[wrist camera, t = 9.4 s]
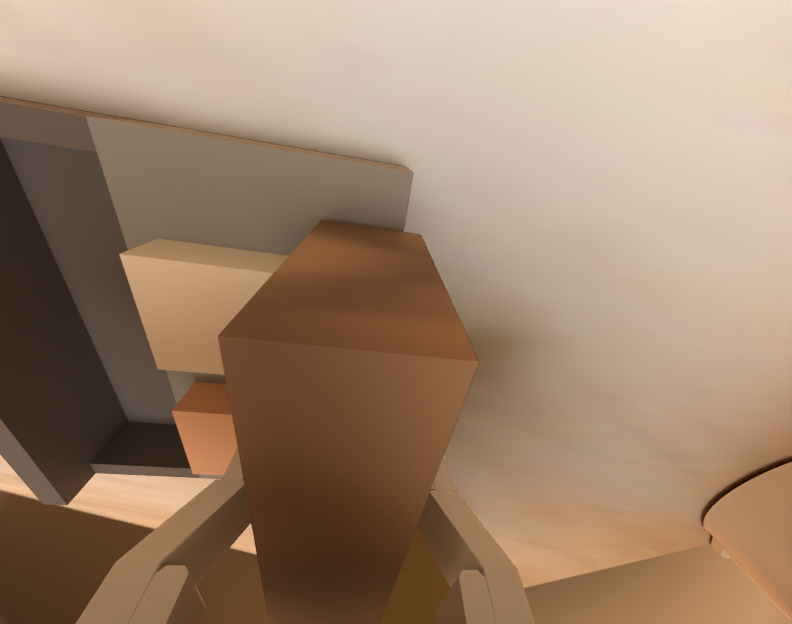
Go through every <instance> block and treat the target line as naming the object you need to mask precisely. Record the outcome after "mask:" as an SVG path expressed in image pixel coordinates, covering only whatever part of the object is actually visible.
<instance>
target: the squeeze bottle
mask: <svg viewBox="0 0 792 624" xmlns="http://www.w3.org/2000/svg"><path fill="white" fill-rule="evenodd" d="M450 589H451V588H450V586H449V584H448V582H447V580H446V578H445V577H444V575H443V573H442V571H441V569H440V567H439V565H438V564H437V562H436V560H435V558H434V556H433V554H432V552H431V550H430V549H429V547H428V545H427V543H426V541H425V539H424V537H423V536H422V534H421V532H420V530H419V528H418V526H417V527H416V530H415V533H414V535H413V538H412V540H411V543H410V546H409V548H408V551H407V554H406V556H405V559H404V562H403V564H402V567H401V570H400V572H399V575H398V577H397V580H396V583H395V585H394V588H393V591H392V593H391V596H390V599H389V601H388V604H387V607H386V609H385V612H384V614H383V617H382V620H381V622H380V624H438V619H437V609H438V608H439V606H440V604H441V603H442V601H443V600H444V598H445V597H446V595H447V593H448V592H449V590H450Z"/></svg>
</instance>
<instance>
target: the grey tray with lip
mask: <svg viewBox="0 0 792 624" xmlns="http://www.w3.org/2000/svg"><path fill="white" fill-rule="evenodd" d="M412 178H413V172H412V171H410V170H409V169H408V168H407V167H404V166H398V165H392V164H387V163H381V162H375V161H369V160H364V159H358V158H352V157H346V156H341V155H335V154H329V153H323V152H318V151H312V150H306V149H300V148H295V147H289V146H283V145H277V144H272V143H266V142H260V141H254V140H249V139H243V138H237V137H231V136H226V135H220V134H214V133H208V132H203V131H197V130H191V129H185V128H180V127H174V126H168V125H162V124H157V123H151V122H145V121H139V120H134V119H128V118H122V117H116V116H111V115H105V114H99V113H93V112H87V111H82V110H76V109H70V108H64V107H59V106H53V105H47V104H41V103H36V102H30V101H24V100H18V99H13V98H7V97H1V96H0V454H1V456H2V457H3V458H4V459H5V460H6V461H7V463H8V464H9V465H10V466H11V467H12V468H13V470H14V471H15V472H16V473H17V474H18V476H19V477H20V478H21V479H22V480H23V481H24V483H25V484H26V485H27V486H28V487H29V488H30V490H31V491H32V492H33V493H34V494H35V495H36V497H37V498H38V499H39V500H40V501H41V502H42V504H50V505H68V504H69V503H70V501H71V500H72V499H73V498H74V497H75V496H76V495H77V494H78V492H79V491H80V490H81V489H82V488H83V487H84V486H85V484H86V483H87V482H88V481H89V480H90V479H91V478H92V477H93V475H94V474H95V473H104V474H126V475H148V476H169V477H191V478H213V479H222V478H223V475H202V474H193V473H192V470H191V467H190V464H189V461H188V458H187V455H186V452H185V449H184V446H183V443H182V440H181V437H180V434H179V431H178V428H177V425H176V422H175V419H174V416H173V413H172V410H173V408H174V407H175V406H176V405H177V403H178V402H179V401H180V400H181V398H182V397H183V396H184V395H185V393H186V392H187V391H188V390H189V388H190V387H191V386H192V385H193V383H194V382H205V383H218V384H226V380H225V375H220V374H208V373H196V372H184V371H173V370H161V369H158V368H157V365H156V362H155V359H154V357H153V354H152V351H151V348H150V345H149V342H148V339H147V336H146V333H145V330H144V327H143V324H142V321H141V318H140V315H139V312H138V309H137V306H136V303H135V300H134V297H133V294H132V291H131V288H130V285H129V282H128V279H127V276H126V273H125V270H124V267H123V264H122V261H121V258H120V255H119V254H120V253H123V252H125V251H128V250H130V249H133V248H135V247H138V246H140V245H143V244H145V243H148V242H150V241H153V240H155V239H158V238H159V239H167V240H174V241H182V242H189V243H197V244H204V245H212V246H220V247H227V248H235V249H242V250H250V251H257V252H265V253H272V254H280V255H288V256H289V255H290V254H291V253H292V252H293V251H294V250H295V248H296V247H297V246H298V245H299V244H300V243H301V242H302V241H303V239H304V238H305V237H306V236H307V235H308V234H309V233H310V232H311V231H312V229H313V228H314V227H315V226H316V225H317V224H318V223H319V222H320V220H324V221H331V222H338V223H345V224H352V225H358V226H365V227H372V228H379V229H385V230H392V231H399V232H404V226H405V220H406V214H407V208H408V202H409V196H410V190H411V184H412Z"/></svg>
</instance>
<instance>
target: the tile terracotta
mask: <svg viewBox="0 0 792 624" xmlns="http://www.w3.org/2000/svg"><path fill="white" fill-rule="evenodd" d="M172 413H173V416H174V419H175V422H176V425H177V428H178V431H179V434H180V437H181V440H182V443H183V446H184V449H185V452H186V455H187V458H188V461H189V464H190V467H191V470H192V473H193V474H202V475H223V476H224V474H225V472H226V470H227V468H228V466H229V464H230V462H231V460H232V458H233V456H234V453H235V451H236V449H237V447H238V446H237V441H236V435H235V430H234V424H233V419H232V413H231V408H230V402H229V396H228V391H227V385H226V384H218V383H205V382H194V383H193V385H192V386H191V387H190V388H189V390H188V391H187V392H186V393H185V395H184V396H183V397H182V398H181V400H180V401H179V402H178V403H177V405H176V406H175V407H174V408H173V410H172Z"/></svg>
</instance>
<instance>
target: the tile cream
mask: <svg viewBox="0 0 792 624" xmlns="http://www.w3.org/2000/svg"><path fill="white" fill-rule="evenodd" d="M119 255H120V258H121V261H122V264H123V267H124V270H125V273H126V276H127V279H128V282H129V285H130V288H131V291H132V294H133V297H134V300H135V303H136V306H137V309H138V312H139V315H140V318H141V321H142V324H143V327H144V330H145V333H146V336H147V339H148V342H149V345H150V348H151V351H152V354H153V357H154V359H155V362H156V365H157V368H158V369H161V370H173V371H184V372H196V373H208V374H220V375H225V374H224V369H223V363H222V358H221V352H220V347H219V341H218V335H219V334H220V333H221V331H222V330H223V329H224V328H225V327H226V326H227V325H228V324H229V323H230V321H231V320H232V319H233V318H234V317H235V316H236V315H237V314H238V312H239V311H240V310H241V309H242V308H243V307H244V306H245V305H246V303H247V302H248V301H249V300H250V299H251V298H252V297H253V296H254V294H255V293H256V292H257V291H258V290H259V289H260V288H261V287H262V285H263V284H264V283H265V282H266V281H267V280H268V279H269V278H270V277H271V275H272V274H273V273H274V272H275V271H276V270H277V269H278V268H279V266H280V265H281V264H282V263H283V262H284V261H285V260H286V259H287V257H288V255H280V254H272V253H265V252H257V251H250V250H242V249H235V248H227V247H220V246H212V245H204V244H197V243H189V242H182V241H174V240H167V239H159V238H158V239H155V240H153V241H150V242H148V243H145V244H143V245H140V246H138V247H135V248H133V249H130V250H128V251H125V252H123V253H120V254H119Z"/></svg>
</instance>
